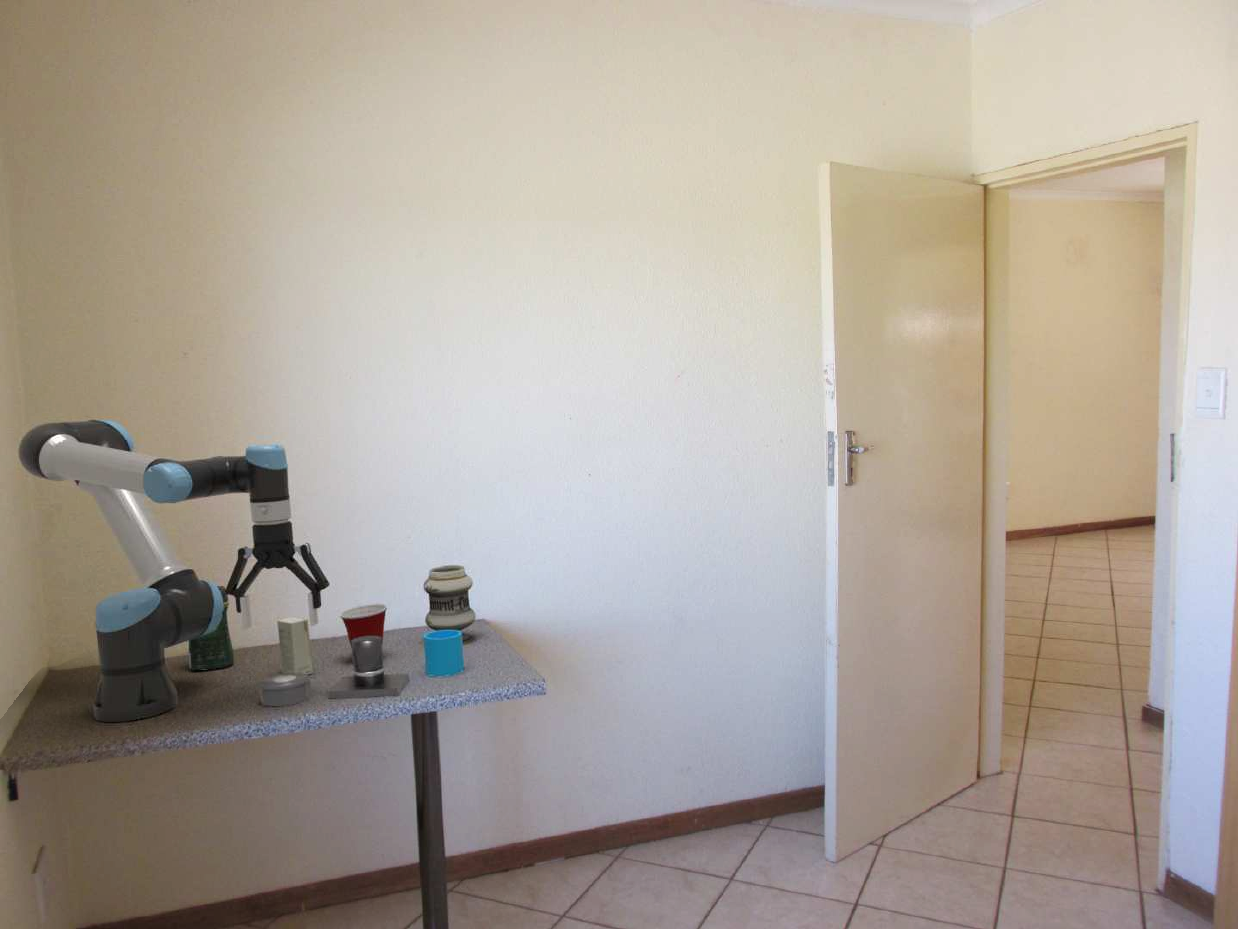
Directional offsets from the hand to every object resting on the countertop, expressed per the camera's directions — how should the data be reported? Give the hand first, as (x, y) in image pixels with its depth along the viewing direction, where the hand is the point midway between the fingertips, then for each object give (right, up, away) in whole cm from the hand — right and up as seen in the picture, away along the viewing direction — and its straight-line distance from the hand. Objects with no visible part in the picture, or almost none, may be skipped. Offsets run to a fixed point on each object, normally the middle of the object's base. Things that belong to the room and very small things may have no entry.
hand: (280, 626), depth 197 cm
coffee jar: (-26, -14, +28) cm, 41 cm away
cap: (+1, -15, +1) cm, 15 cm away
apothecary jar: (+27, -11, +41) cm, 51 cm away
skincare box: (-3, -14, +19) cm, 24 cm away
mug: (+30, -12, +17) cm, 37 cm away
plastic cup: (+10, -12, +28) cm, 32 cm away
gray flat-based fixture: (+17, -14, +5) cm, 22 cm away
